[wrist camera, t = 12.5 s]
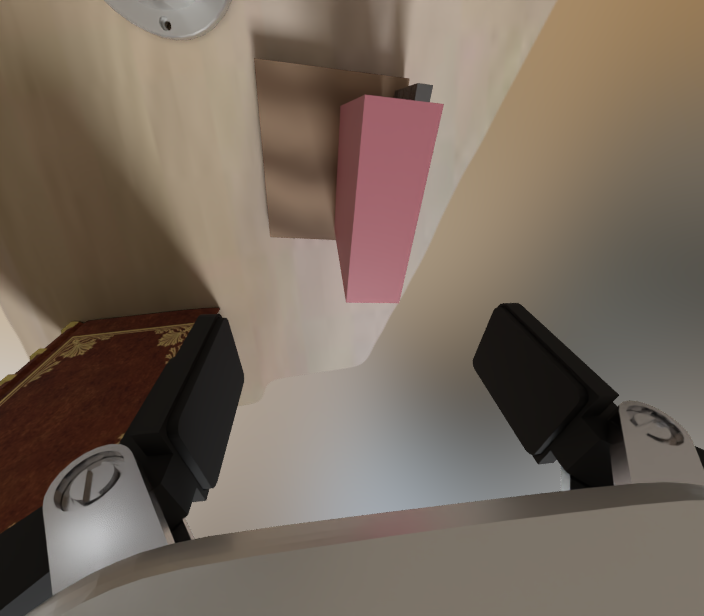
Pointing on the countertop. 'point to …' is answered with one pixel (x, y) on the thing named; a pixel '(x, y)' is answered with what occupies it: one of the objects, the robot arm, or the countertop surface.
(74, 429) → the decorative book
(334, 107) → the shelf board
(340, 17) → the countertop surface
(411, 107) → the slim book
